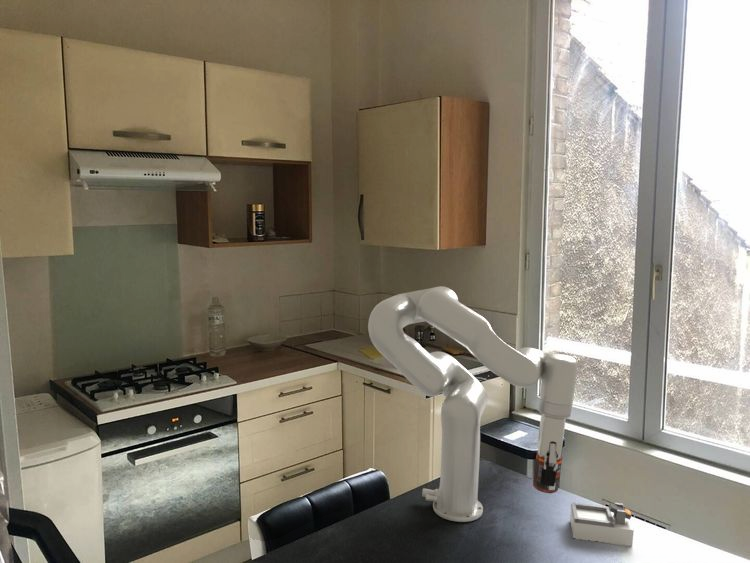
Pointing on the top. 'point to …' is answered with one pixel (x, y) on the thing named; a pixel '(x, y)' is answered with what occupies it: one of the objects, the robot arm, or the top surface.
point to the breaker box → (600, 524)
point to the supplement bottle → (537, 475)
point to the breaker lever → (614, 509)
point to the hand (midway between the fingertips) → (546, 477)
